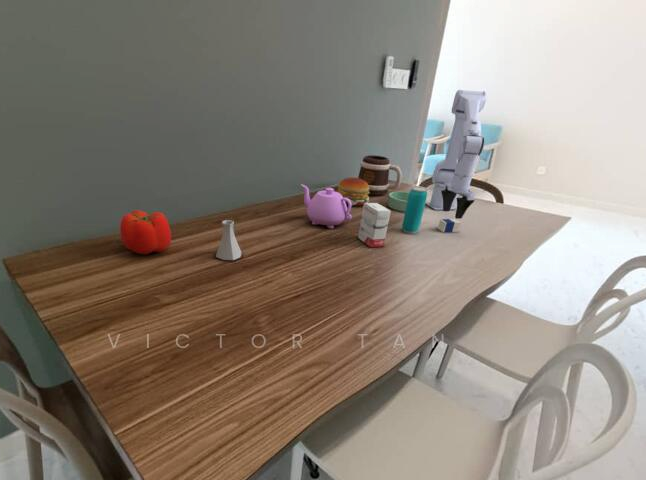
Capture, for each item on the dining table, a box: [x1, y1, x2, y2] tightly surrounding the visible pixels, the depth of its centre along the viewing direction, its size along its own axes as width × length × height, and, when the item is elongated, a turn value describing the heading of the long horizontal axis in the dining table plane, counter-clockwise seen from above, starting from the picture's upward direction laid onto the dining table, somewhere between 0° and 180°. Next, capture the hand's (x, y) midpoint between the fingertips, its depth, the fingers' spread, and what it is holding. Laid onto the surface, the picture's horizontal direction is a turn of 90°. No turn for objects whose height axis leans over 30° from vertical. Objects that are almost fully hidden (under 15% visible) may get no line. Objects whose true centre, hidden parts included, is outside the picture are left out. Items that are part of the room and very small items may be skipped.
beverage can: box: [401, 185, 428, 235], centre depth 133 cm, size 6×6×15 cm
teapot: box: [300, 183, 353, 229], centre depth 137 cm, size 20×14×12 cm
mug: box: [357, 155, 403, 197], centre depth 174 cm, size 20×15×15 cm
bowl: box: [387, 191, 410, 213], centre depth 160 cm, size 14×14×4 cm
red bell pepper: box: [119, 210, 172, 256], centre depth 109 cm, size 14×13×10 cm
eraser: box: [437, 218, 461, 233], centre depth 139 cm, size 6×4×4 cm, turn 103°
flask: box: [215, 219, 242, 261], centre depth 109 cm, size 7×7×10 cm
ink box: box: [358, 202, 392, 248], centre depth 123 cm, size 8×5×12 cm, turn 20°
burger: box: [337, 177, 370, 206], centre depth 160 cm, size 13×14×10 cm
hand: (452, 214), depth 137 cm, fingers open, 7 cm apart
